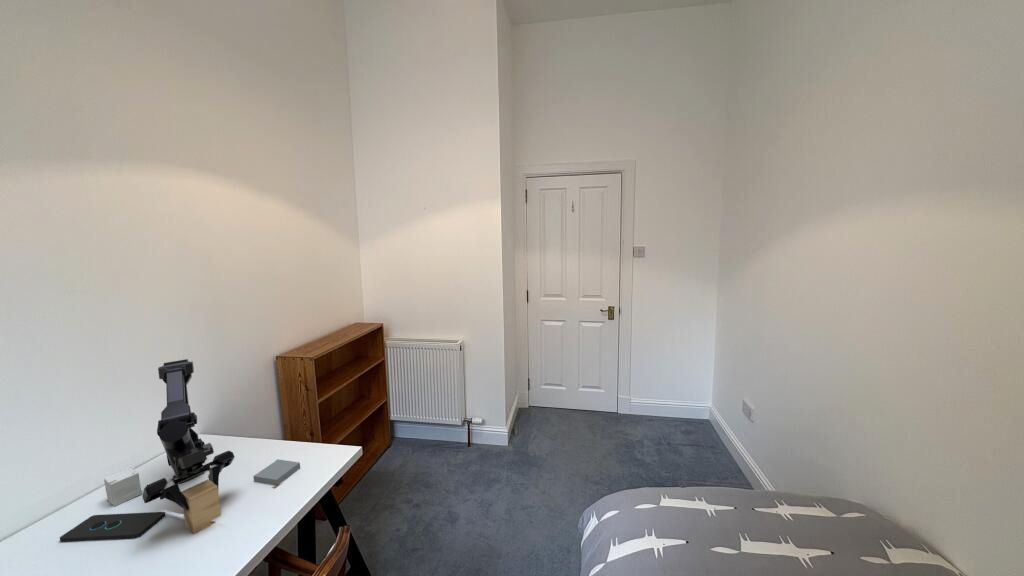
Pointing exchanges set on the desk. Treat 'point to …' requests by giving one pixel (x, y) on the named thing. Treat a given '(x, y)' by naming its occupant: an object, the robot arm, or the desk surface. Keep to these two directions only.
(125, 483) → the skincare box
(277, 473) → the slate top slab
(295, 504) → the desk surface
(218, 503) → the honey oak block
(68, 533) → the smart home device
